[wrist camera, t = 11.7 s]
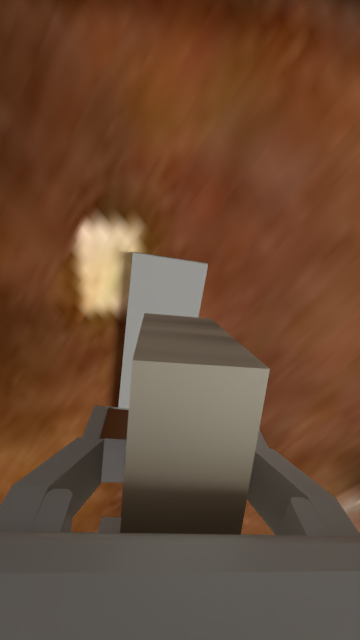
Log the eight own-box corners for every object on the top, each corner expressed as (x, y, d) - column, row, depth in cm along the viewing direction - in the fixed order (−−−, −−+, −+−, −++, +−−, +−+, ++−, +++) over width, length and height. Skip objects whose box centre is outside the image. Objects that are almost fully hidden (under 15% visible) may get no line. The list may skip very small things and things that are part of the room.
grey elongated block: (121, 311, 11) (82, 357, 5) (232, 320, 12) (311, 371, 6) (103, 610, 14) (65, 854, 8) (191, 606, 15) (215, 831, 9)
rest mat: (133, 251, 24) (132, 252, 23) (206, 263, 24) (208, 264, 24) (117, 424, 30) (116, 430, 29) (175, 428, 31) (176, 434, 30)
